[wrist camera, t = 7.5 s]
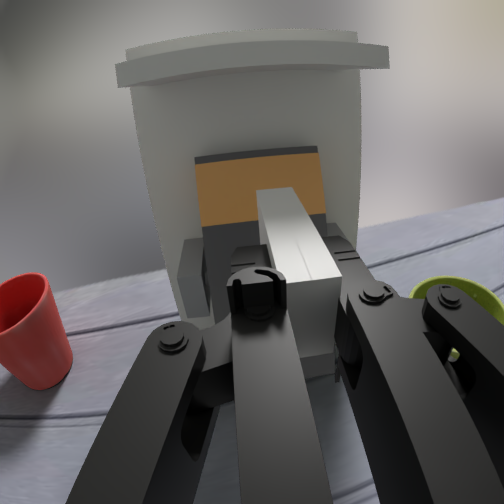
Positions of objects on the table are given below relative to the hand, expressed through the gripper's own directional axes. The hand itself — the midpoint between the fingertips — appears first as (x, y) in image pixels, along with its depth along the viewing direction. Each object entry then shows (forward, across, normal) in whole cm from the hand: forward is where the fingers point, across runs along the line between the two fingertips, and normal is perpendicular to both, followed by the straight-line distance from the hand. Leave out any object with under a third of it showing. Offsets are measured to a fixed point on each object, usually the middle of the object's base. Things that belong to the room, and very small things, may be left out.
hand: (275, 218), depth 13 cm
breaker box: (+9, 0, -18) cm, 20 cm away
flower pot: (+8, -26, -19) cm, 33 cm away
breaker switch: (+2, 0, -14) cm, 14 cm away
